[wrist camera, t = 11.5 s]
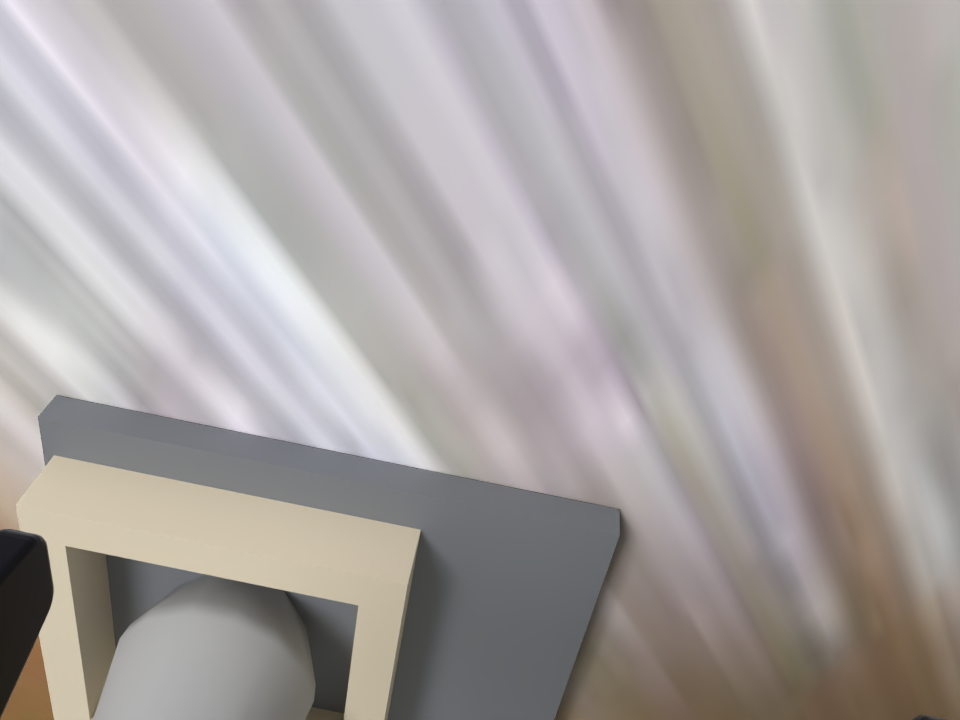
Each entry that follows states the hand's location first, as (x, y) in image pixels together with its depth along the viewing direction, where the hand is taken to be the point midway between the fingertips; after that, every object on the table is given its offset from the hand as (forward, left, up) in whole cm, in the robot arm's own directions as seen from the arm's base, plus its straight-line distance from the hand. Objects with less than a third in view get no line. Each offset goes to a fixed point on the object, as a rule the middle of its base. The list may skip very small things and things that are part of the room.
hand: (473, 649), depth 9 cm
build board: (+4, +16, -13) cm, 21 cm away
